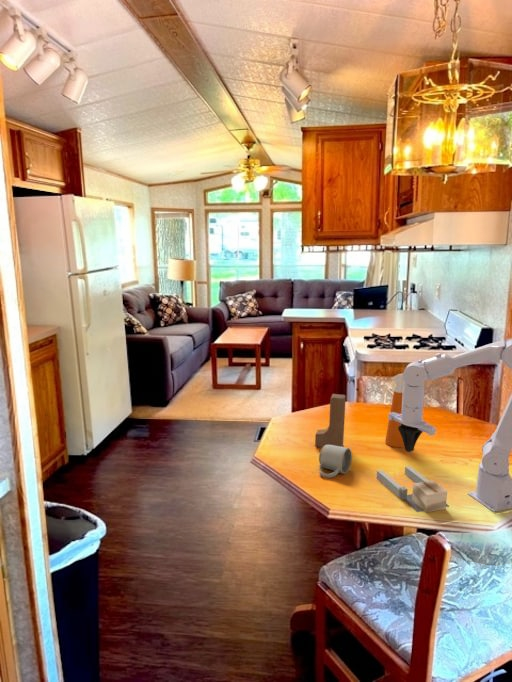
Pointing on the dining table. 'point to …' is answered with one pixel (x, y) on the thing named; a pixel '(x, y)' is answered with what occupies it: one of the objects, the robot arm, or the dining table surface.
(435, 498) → the block
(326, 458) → the ceramic mug
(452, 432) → the dining table surface
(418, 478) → the chute
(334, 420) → the wooden block
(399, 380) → the spray bottle
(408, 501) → the mat
